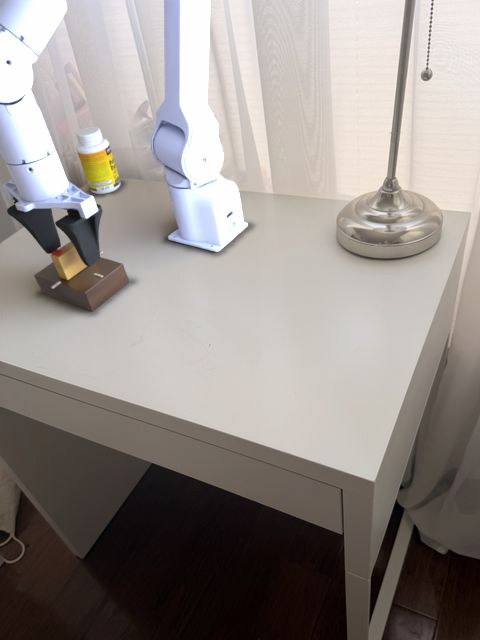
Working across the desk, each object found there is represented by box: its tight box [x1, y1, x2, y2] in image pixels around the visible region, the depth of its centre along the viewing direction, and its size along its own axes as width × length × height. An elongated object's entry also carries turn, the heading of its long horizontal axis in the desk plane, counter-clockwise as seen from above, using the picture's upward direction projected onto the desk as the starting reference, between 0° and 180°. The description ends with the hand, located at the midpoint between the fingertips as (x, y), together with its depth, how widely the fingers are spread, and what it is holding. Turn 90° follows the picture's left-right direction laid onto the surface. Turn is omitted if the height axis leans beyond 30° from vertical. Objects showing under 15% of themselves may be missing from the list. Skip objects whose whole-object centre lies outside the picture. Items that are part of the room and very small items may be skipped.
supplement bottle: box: [75, 126, 121, 195], centre depth 94 cm, size 6×6×10 cm
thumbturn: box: [49, 241, 87, 280], centre depth 71 cm, size 5×2×4 cm, turn 147°
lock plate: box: [33, 250, 130, 312], centre depth 73 cm, size 10×9×3 cm
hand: (73, 255), depth 71 cm, fingers open, 7 cm apart
